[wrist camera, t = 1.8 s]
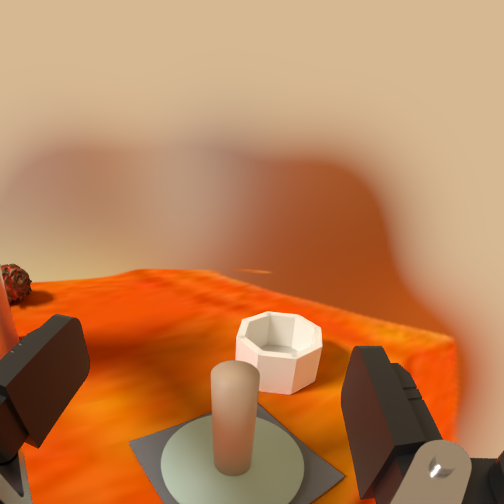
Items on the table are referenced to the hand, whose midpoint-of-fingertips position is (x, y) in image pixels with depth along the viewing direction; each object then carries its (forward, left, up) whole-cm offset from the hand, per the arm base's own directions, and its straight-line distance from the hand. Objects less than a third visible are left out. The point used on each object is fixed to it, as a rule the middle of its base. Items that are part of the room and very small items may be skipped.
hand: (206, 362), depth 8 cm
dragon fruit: (-61, -15, -24) cm, 67 cm away
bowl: (-20, +22, -23) cm, 38 cm away
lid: (-9, +7, -23) cm, 26 cm away
